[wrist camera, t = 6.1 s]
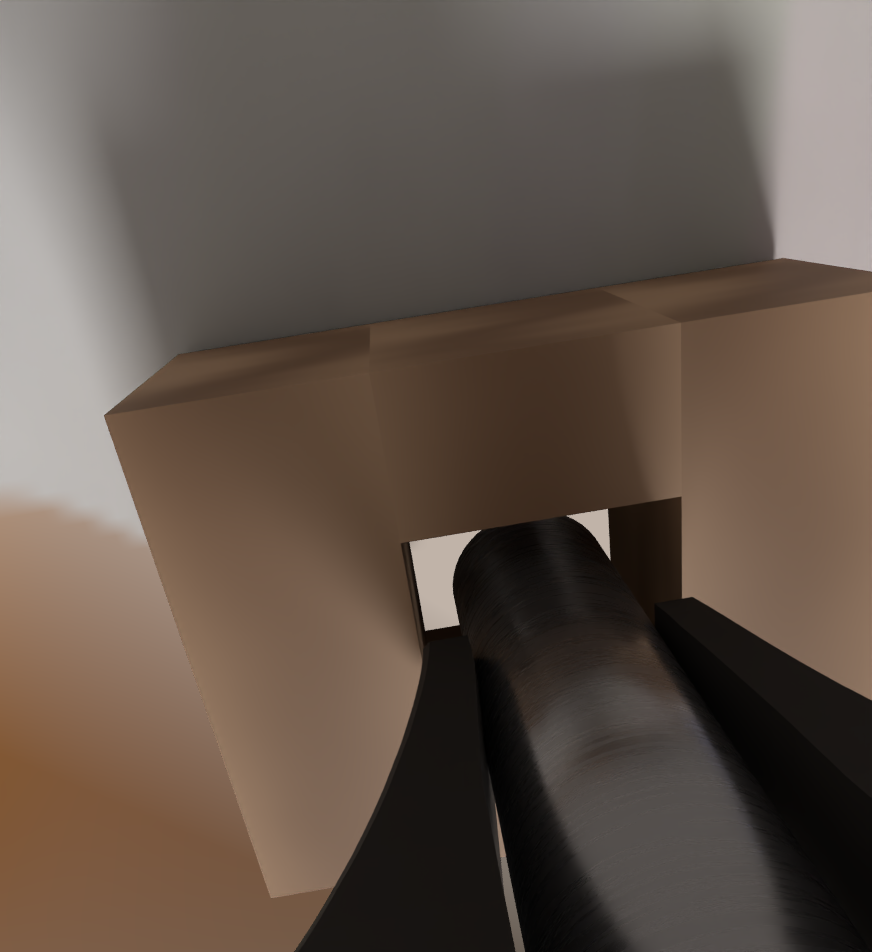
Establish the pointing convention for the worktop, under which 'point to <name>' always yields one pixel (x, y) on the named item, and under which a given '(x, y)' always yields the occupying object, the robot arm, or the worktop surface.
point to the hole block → (493, 502)
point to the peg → (620, 769)
